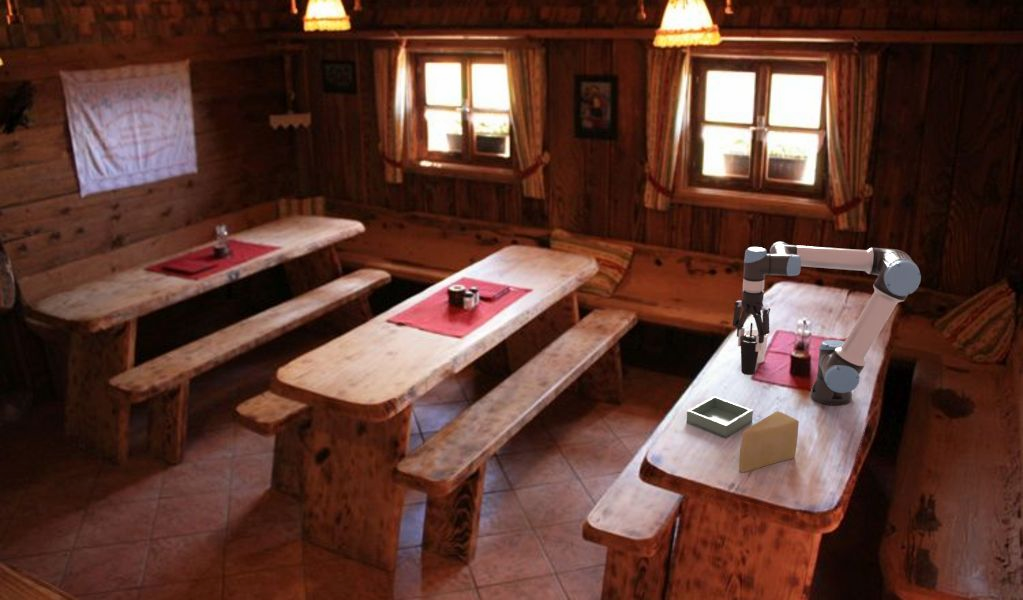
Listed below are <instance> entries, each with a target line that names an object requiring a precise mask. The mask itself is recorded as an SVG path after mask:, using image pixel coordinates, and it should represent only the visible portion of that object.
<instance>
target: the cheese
mask: <svg viewBox="0 0 1023 600" xmlns="http://www.w3.org/2000/svg"><path fill="white" fill-rule="evenodd" d="M799 423H800V422H799V421H798V419H797V418H794V417H792V416H790V415H788V414H786V413H783V412H781V411H775V412H773V413H771V414H770V415H768V416H766V417H765V418H763V419H761V420H759V421H758V422H756V423H754V424H753V425H751V426H749V427H748V428H746V429H745V430H743V432H742V437H741V443H740V450H739V456H738V457H739V459H738V461H739V462H738V471H739V473H743V474H744V473H747V472H750V471H754V470H757V469H761V468H763V467H767V466H770V465H773V464H777V463H780V462H784V461H788V460H791V459H794V458H795V459H796V452H797V444H798V438H799V437H798V434H799Z"/></svg>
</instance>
